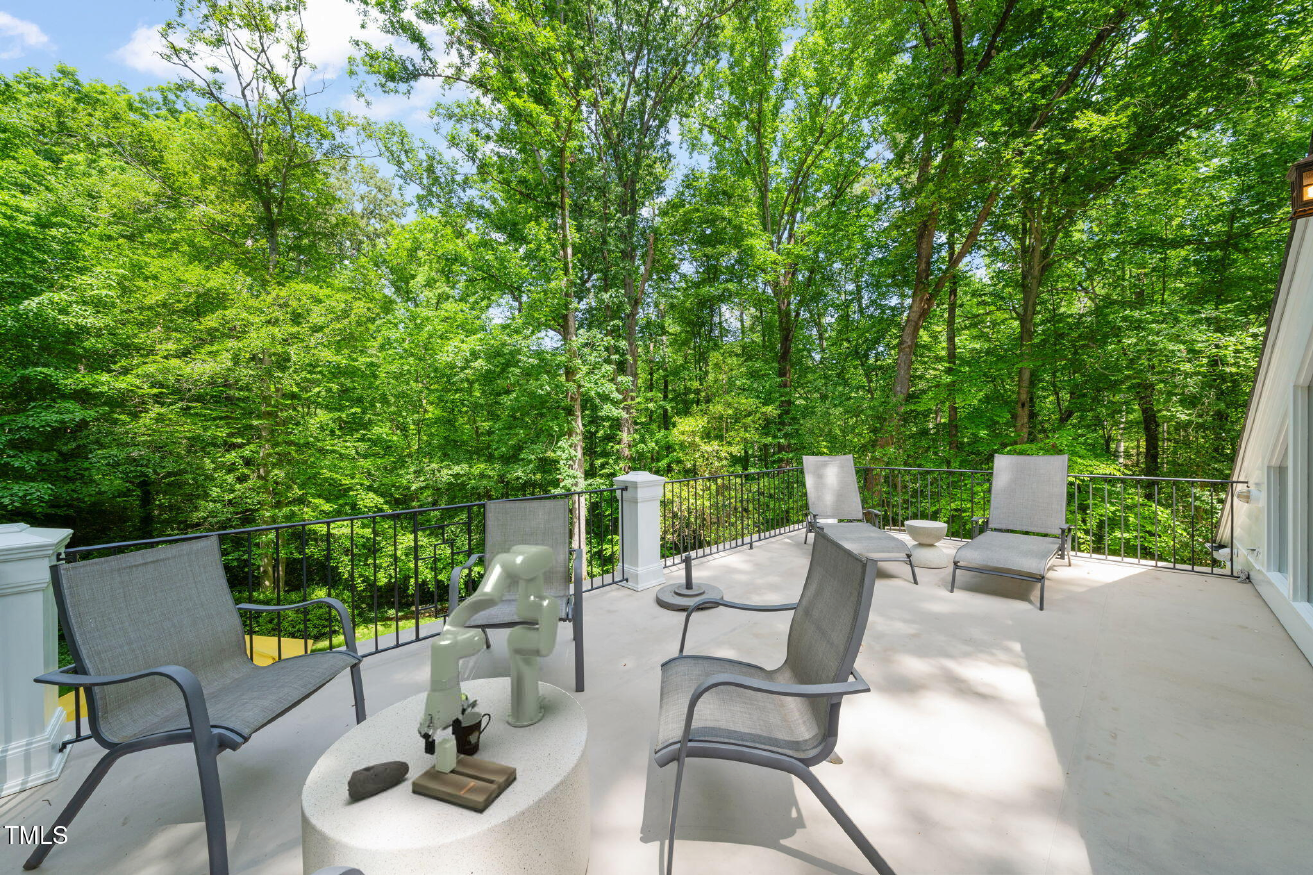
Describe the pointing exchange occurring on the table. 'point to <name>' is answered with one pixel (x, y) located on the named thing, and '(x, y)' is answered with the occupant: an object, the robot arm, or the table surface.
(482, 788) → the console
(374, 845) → the table surface
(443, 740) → the fader
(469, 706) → the salad plate
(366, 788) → the perforated stone tool
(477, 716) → the coffee mug
